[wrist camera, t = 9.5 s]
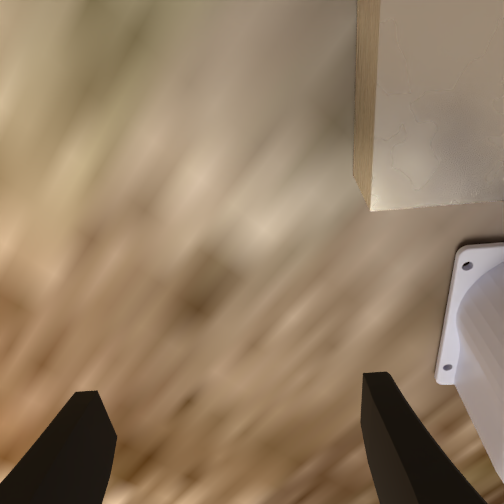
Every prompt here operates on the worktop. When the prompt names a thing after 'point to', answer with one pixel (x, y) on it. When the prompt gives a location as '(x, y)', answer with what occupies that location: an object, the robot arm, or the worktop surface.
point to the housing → (429, 102)
